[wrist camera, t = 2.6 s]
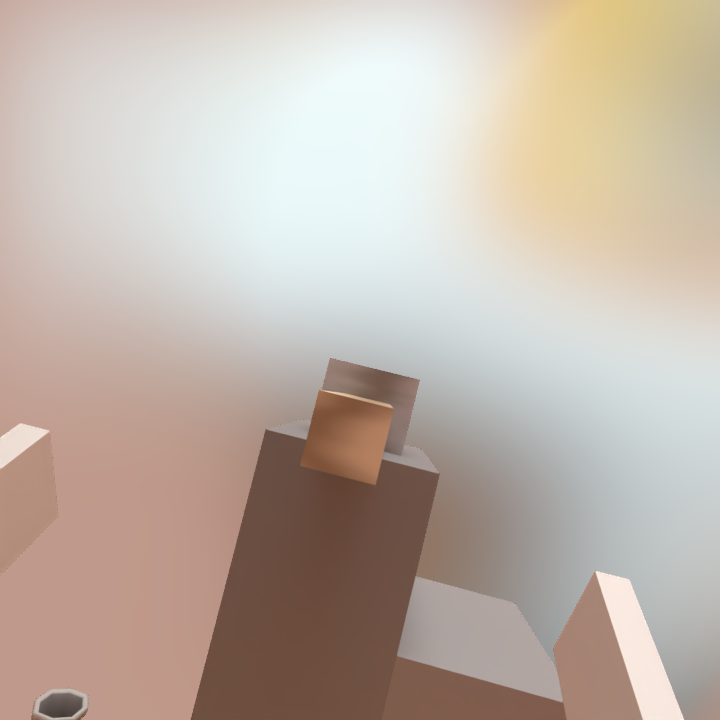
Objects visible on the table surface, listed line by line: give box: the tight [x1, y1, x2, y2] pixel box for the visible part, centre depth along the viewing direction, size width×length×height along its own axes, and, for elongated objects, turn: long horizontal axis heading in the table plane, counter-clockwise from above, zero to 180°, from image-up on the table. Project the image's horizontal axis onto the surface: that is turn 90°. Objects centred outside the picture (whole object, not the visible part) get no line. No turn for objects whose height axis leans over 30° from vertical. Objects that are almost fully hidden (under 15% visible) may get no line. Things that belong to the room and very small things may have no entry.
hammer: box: [300, 358, 420, 485], centre depth 29 cm, size 6×18×5 cm, turn 177°
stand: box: [191, 419, 567, 720], centre depth 35 cm, size 20×14×30 cm
